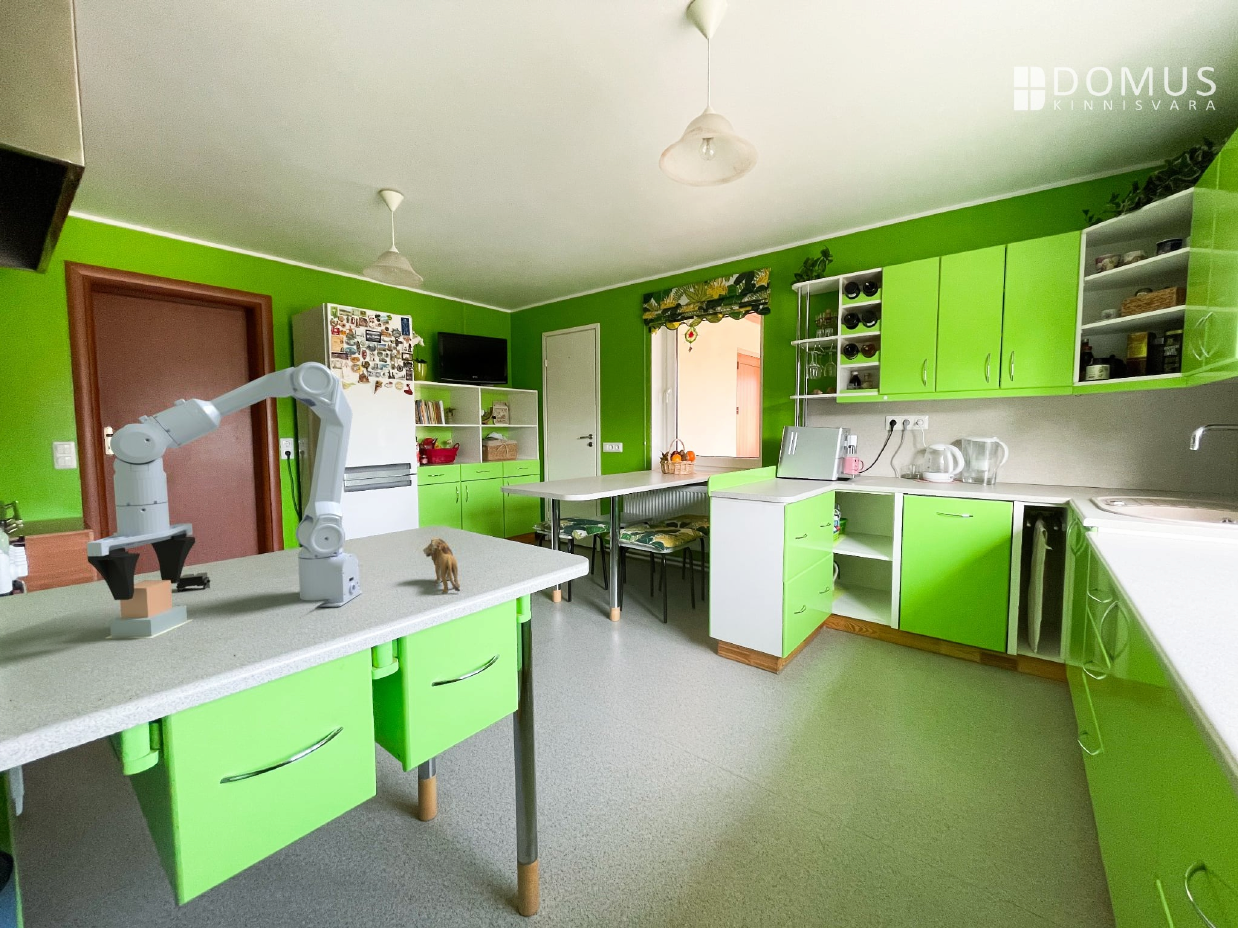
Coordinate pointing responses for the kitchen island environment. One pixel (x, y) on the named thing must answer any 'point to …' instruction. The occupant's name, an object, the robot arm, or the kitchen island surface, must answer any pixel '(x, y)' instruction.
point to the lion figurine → (443, 563)
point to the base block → (148, 623)
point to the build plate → (193, 581)
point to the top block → (148, 599)
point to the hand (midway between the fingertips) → (148, 590)
